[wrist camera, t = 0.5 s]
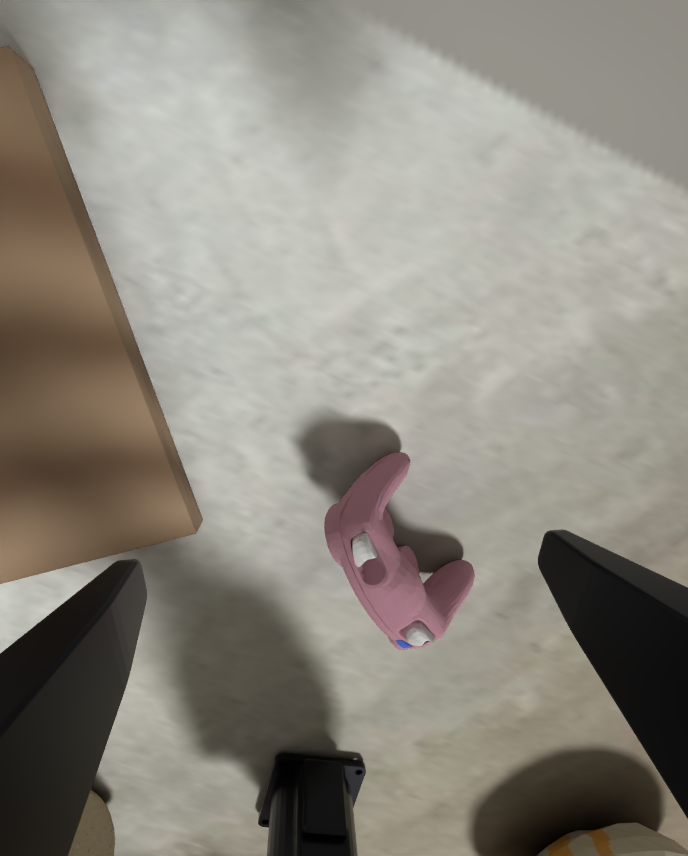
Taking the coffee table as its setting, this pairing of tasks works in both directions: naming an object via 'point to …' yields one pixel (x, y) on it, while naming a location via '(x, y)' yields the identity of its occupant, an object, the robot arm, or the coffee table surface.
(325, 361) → the coffee table surface
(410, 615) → the pink elongated piece
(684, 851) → the nautilus
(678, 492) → the coffee table surface
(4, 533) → the board
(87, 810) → the ceramic mug
